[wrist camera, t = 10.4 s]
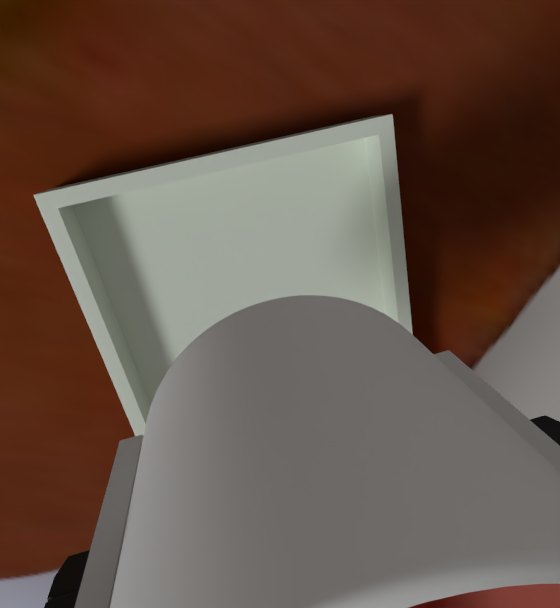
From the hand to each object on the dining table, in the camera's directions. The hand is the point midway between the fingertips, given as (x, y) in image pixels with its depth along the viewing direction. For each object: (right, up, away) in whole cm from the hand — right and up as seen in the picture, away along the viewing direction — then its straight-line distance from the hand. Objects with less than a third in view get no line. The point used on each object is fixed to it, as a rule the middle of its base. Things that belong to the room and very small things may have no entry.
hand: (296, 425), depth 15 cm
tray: (-2, +5, +12) cm, 13 cm away
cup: (0, 0, +1) cm, 1 cm away
